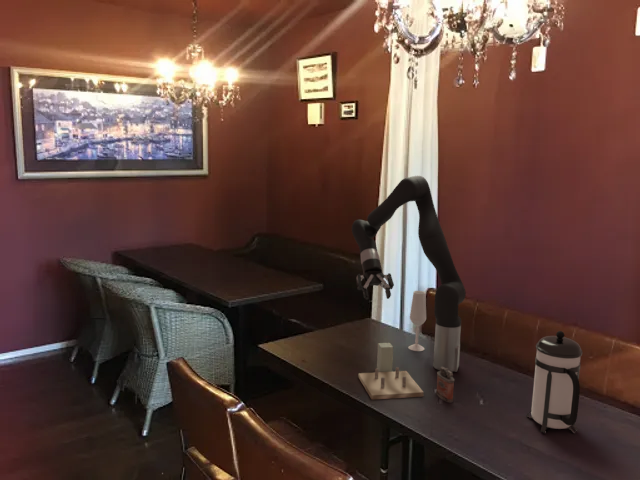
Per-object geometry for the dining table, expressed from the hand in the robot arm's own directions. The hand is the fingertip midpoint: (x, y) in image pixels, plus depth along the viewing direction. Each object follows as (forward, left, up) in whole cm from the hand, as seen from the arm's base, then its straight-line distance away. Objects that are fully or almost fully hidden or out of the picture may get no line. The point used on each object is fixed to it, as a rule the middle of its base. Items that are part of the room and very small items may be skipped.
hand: (378, 298), depth 218 cm
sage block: (-6, +10, -25) cm, 27 cm away
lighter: (-30, +24, -25) cm, 46 cm away
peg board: (-11, +23, -25) cm, 35 cm away
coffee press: (-64, +32, -25) cm, 76 cm away
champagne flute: (-13, -18, -25) cm, 33 cm away
